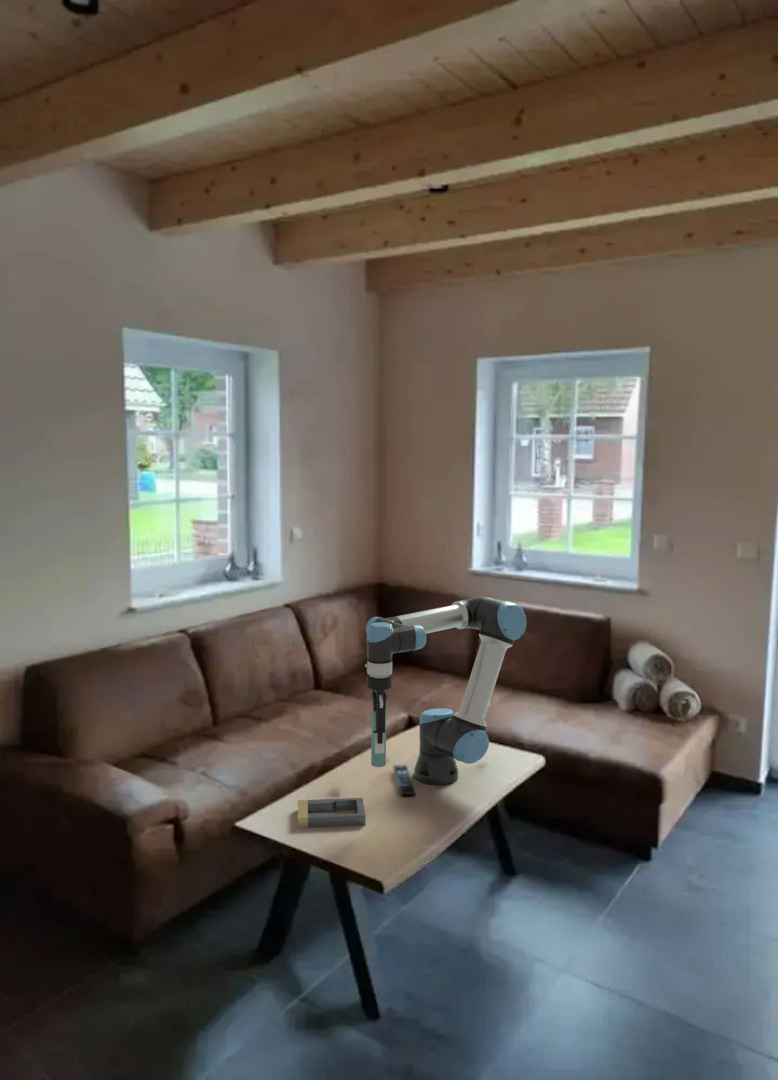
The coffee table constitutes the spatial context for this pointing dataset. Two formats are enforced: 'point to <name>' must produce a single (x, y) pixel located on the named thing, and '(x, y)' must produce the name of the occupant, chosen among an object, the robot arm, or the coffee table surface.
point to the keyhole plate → (324, 819)
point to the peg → (376, 759)
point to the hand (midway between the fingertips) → (378, 749)
